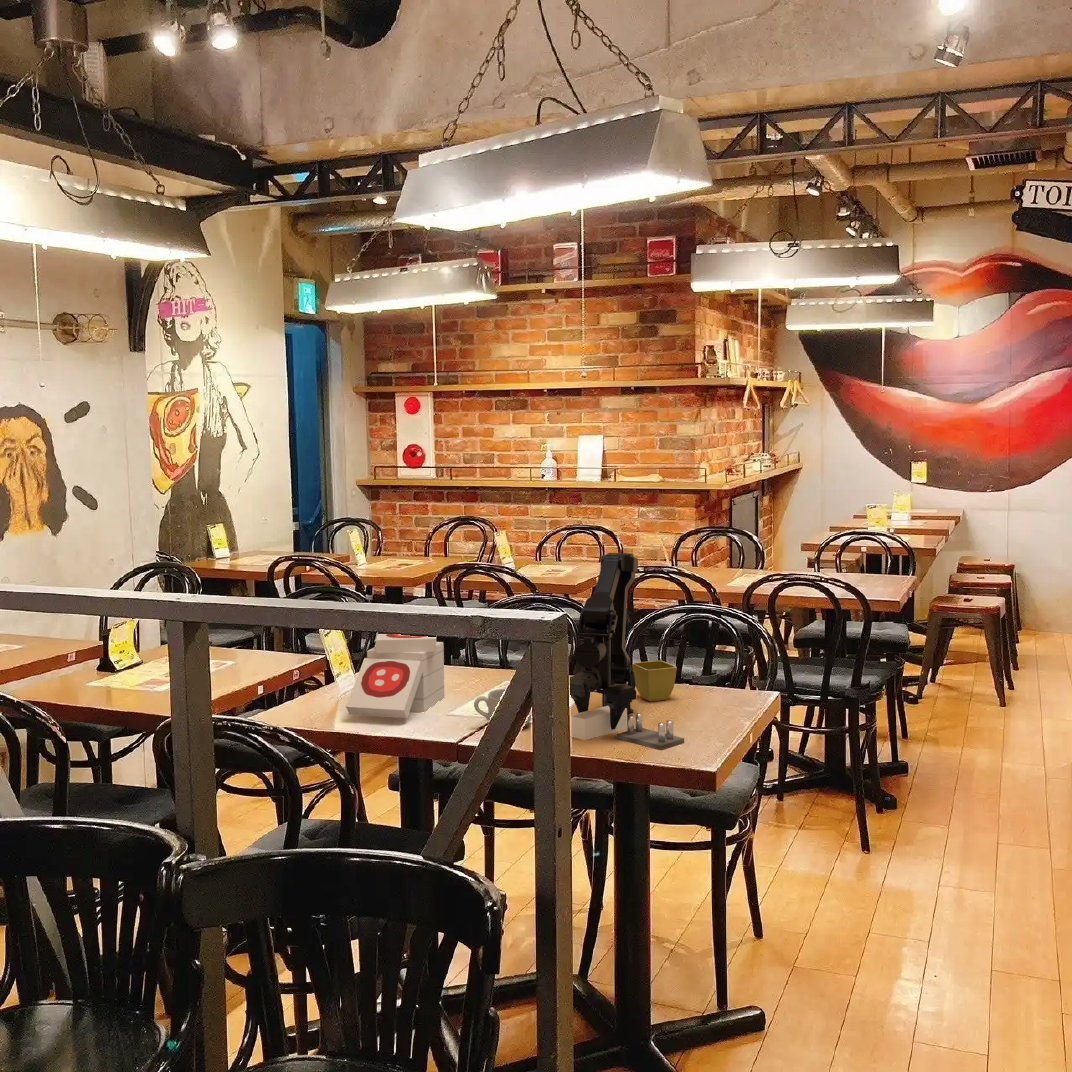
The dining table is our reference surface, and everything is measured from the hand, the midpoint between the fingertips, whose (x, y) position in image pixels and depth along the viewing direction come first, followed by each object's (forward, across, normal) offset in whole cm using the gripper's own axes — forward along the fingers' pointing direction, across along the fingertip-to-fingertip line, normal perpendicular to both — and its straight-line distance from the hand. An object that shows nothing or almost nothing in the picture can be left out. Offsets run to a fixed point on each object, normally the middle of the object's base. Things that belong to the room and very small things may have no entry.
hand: (598, 725), depth 259 cm
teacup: (+2, -19, -12) cm, 23 cm away
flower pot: (+2, -11, +33) cm, 35 cm away
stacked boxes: (+2, -50, -19) cm, 54 cm away
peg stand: (+2, +13, +3) cm, 13 cm away
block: (+2, 0, 0) cm, 2 cm away
